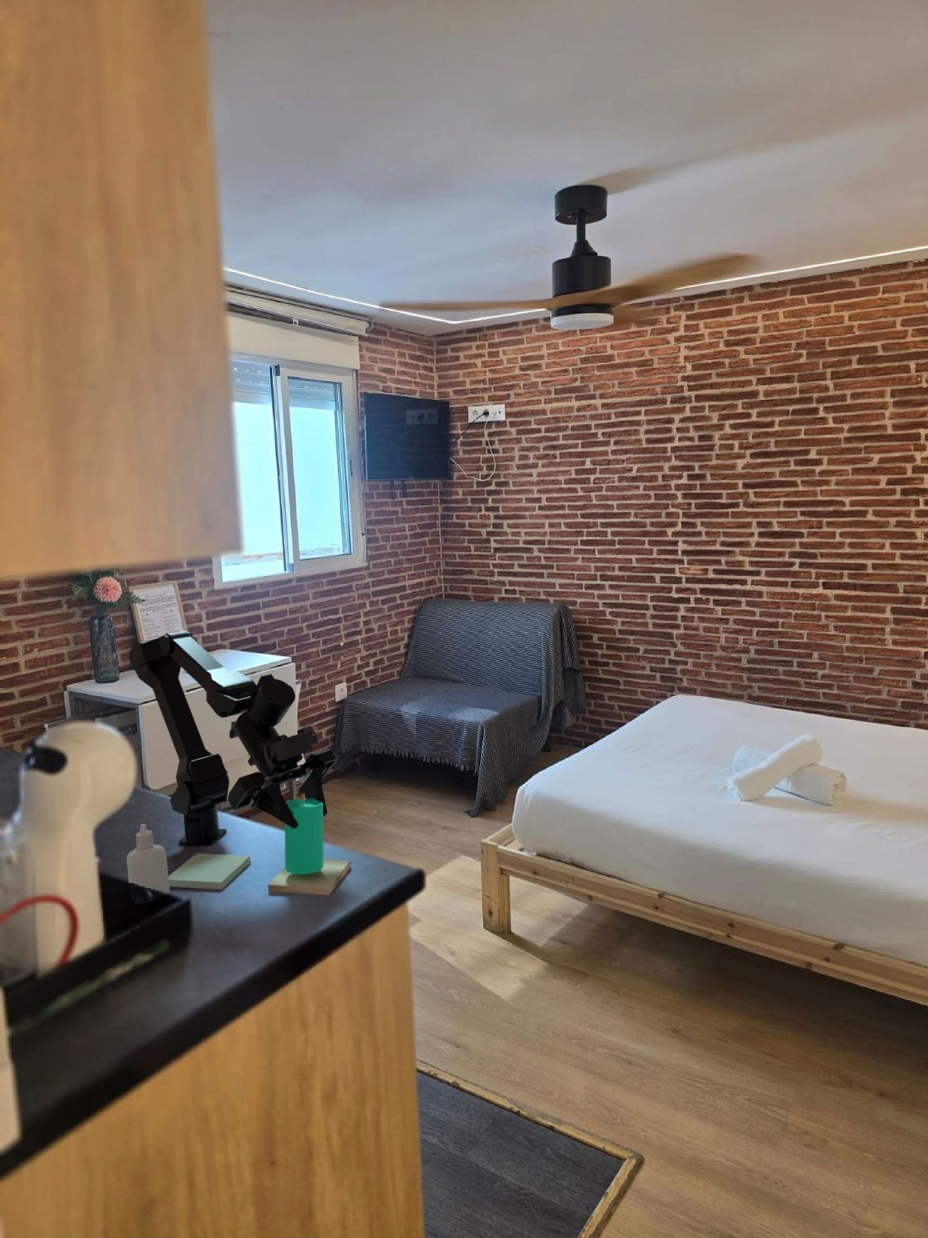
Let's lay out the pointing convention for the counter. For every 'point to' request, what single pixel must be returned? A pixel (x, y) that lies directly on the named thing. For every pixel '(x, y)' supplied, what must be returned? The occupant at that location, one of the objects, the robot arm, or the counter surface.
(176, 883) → the sage tile
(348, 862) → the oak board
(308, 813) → the candle
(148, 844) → the eye dropper bottle
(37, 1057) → the counter surface
